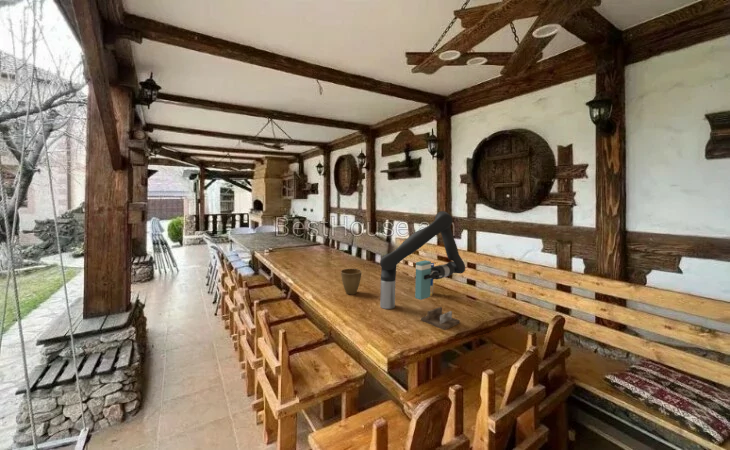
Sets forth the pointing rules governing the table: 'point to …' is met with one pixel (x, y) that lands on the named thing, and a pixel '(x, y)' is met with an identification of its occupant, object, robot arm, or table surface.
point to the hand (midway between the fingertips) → (421, 276)
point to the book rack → (440, 319)
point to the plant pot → (351, 280)
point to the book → (422, 280)
